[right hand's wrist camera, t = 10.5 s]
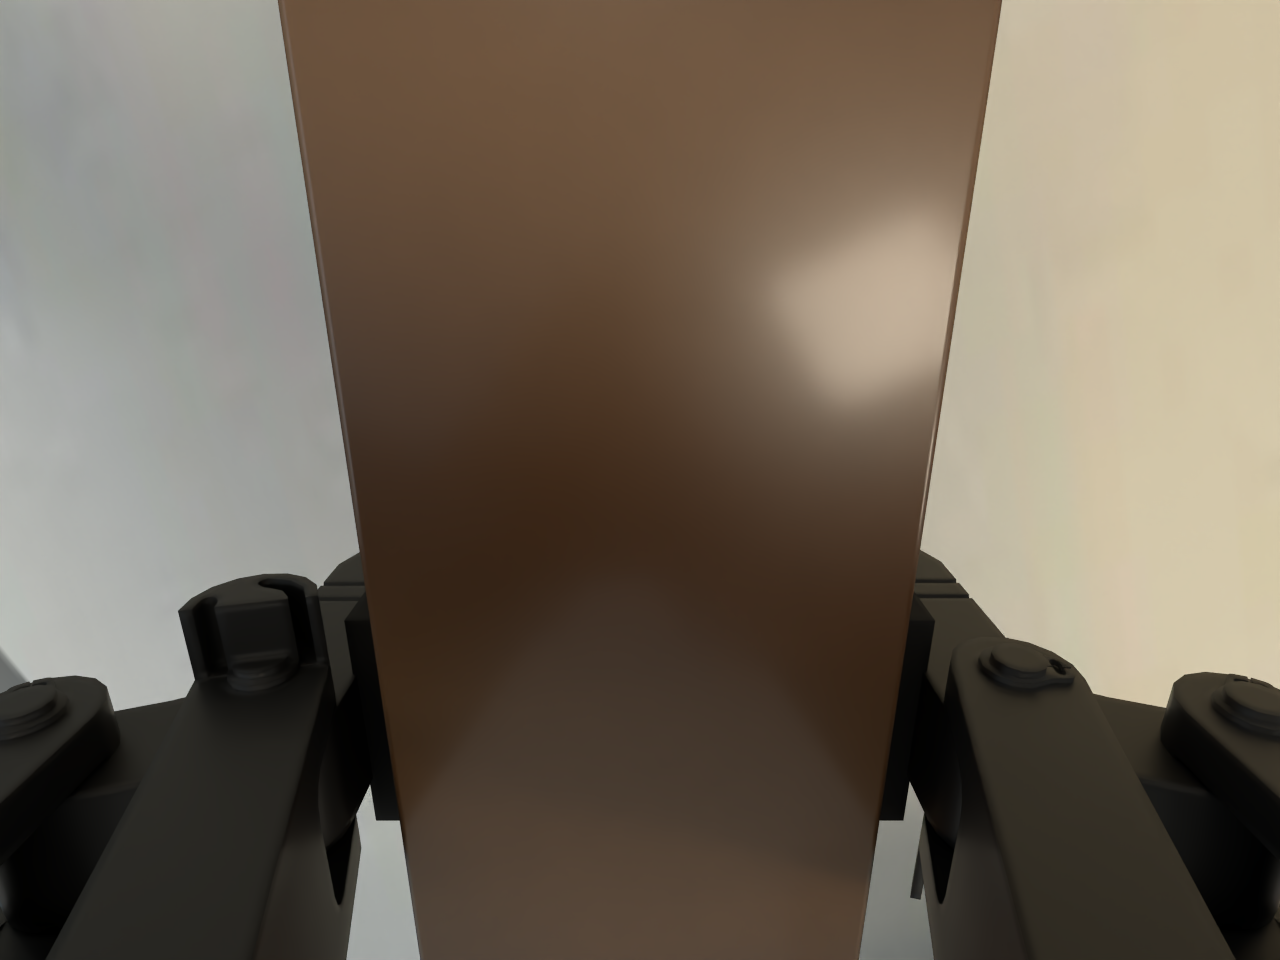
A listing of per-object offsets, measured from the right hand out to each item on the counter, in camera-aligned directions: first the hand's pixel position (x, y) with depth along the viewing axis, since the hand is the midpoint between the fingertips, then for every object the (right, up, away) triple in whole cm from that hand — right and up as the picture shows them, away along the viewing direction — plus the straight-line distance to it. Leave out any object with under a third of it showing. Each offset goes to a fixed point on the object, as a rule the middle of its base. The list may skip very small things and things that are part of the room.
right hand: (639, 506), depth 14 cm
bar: (0, +30, -10) cm, 32 cm away
